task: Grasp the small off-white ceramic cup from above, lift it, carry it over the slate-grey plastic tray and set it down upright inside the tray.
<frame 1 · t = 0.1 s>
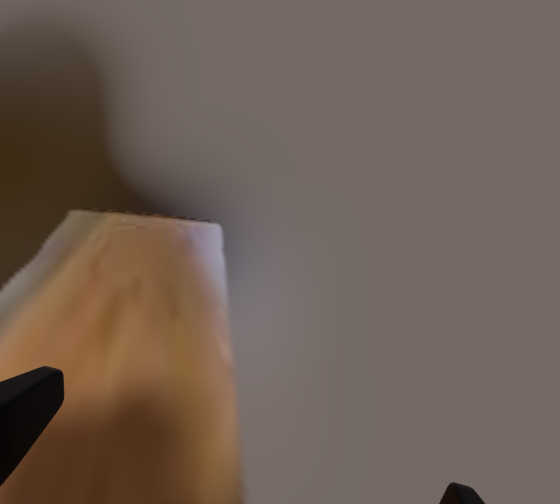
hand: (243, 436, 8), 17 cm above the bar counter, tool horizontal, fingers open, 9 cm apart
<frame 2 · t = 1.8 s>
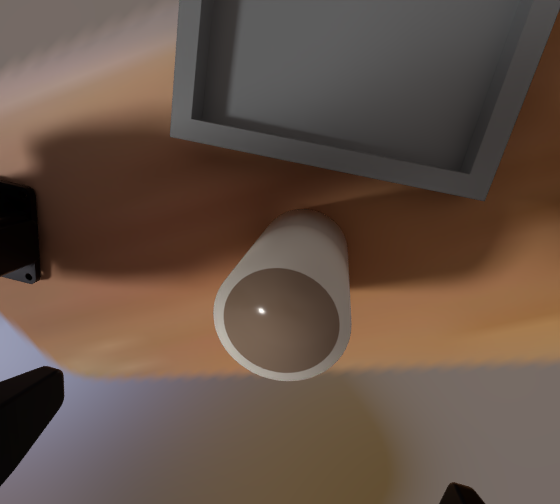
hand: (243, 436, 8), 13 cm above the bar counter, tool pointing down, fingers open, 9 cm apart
ceramic cup: (303, 252, 20), on the bar counter
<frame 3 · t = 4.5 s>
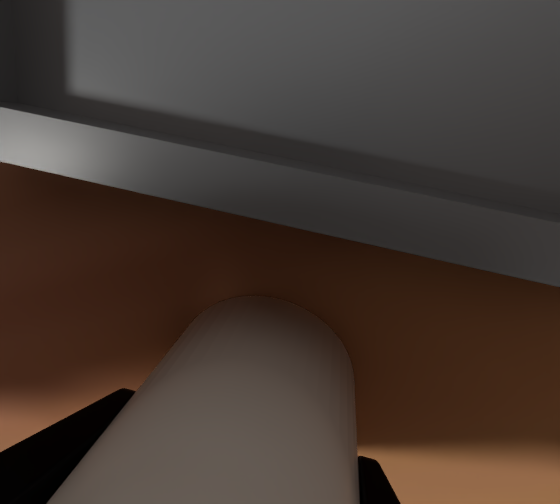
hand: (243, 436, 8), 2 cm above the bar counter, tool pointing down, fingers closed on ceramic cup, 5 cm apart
ceramic cup: (262, 377, 10), on the bar counter, touching gripper
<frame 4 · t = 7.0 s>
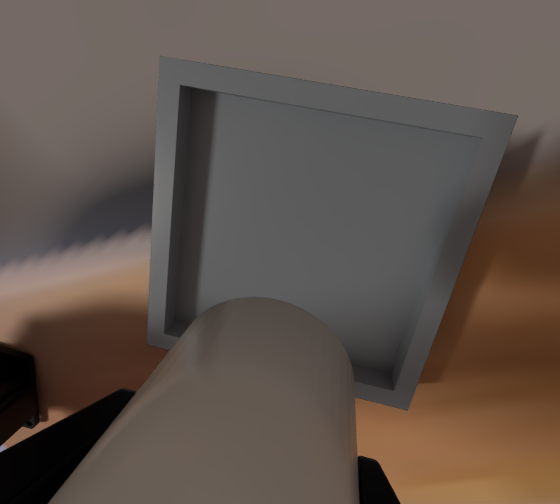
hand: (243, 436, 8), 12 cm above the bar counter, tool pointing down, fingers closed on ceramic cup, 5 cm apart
tray: (301, 240, 19), on the bar counter
ceramic cup: (262, 378, 10), point 10 cm above the bar counter, touching gripper
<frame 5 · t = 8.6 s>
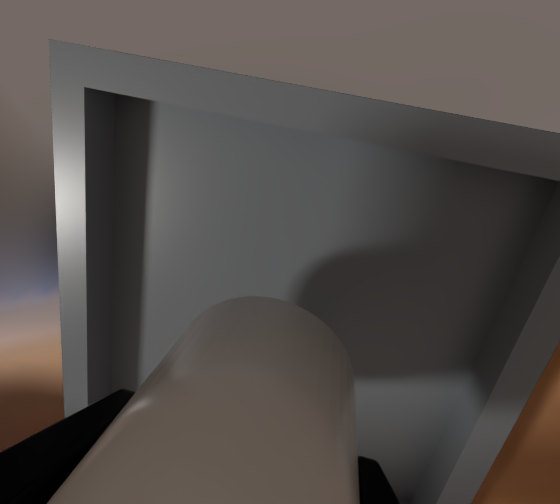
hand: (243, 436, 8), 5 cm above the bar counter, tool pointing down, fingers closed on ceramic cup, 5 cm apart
tray: (284, 316, 13), on the bar counter
ceramic cup: (262, 377, 10), point 3 cm above the bar counter, touching gripper
when the fingers open (3 cm above the bar counter, at t = 9.9 s): ceramic cup stays where it is, resting on tray.
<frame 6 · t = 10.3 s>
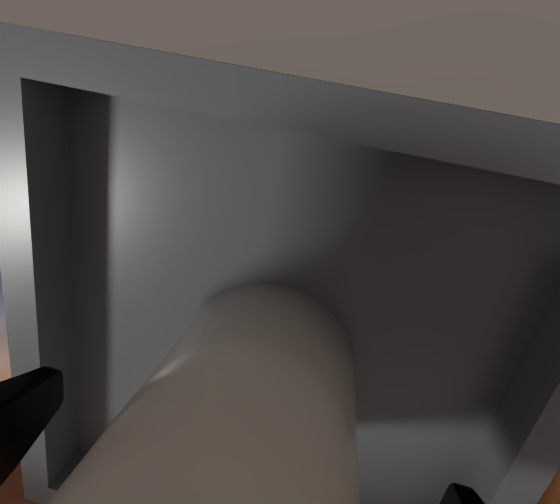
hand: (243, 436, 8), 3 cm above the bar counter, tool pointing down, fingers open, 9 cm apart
tray: (273, 347, 11), on the bar counter
ceramic cup: (268, 359, 11), point 1 cm above the bar counter, touching tray
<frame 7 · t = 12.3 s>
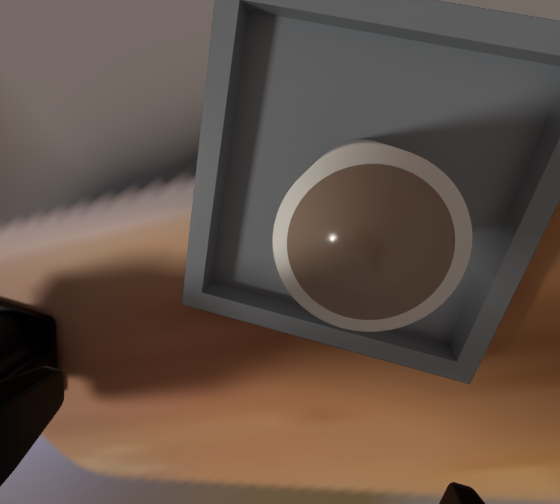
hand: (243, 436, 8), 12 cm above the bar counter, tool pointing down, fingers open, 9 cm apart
tray: (358, 192, 17), on the bar counter
ceramic cup: (358, 194, 17), point 1 cm above the bar counter, touching tray
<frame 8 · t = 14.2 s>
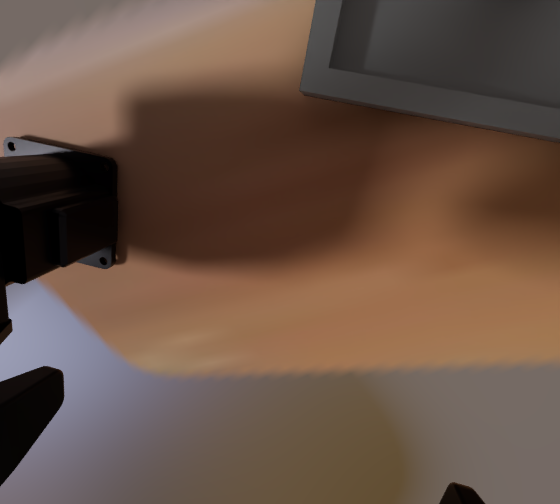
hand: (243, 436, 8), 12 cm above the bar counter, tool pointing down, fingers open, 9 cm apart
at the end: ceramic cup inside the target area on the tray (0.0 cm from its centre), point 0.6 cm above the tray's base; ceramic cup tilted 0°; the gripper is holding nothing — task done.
